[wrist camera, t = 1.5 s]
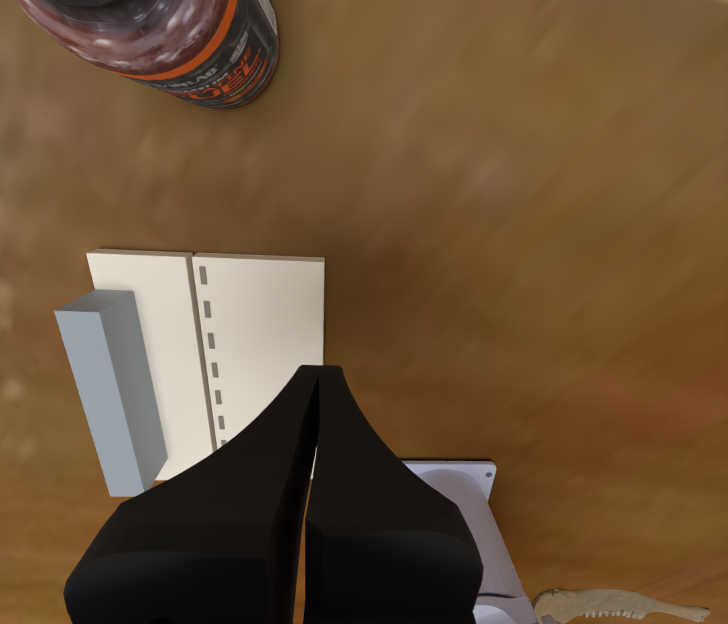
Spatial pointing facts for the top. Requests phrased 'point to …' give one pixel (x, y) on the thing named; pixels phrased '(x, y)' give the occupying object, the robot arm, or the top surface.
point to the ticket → (256, 329)
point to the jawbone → (607, 605)
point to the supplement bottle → (171, 43)
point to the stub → (141, 366)
